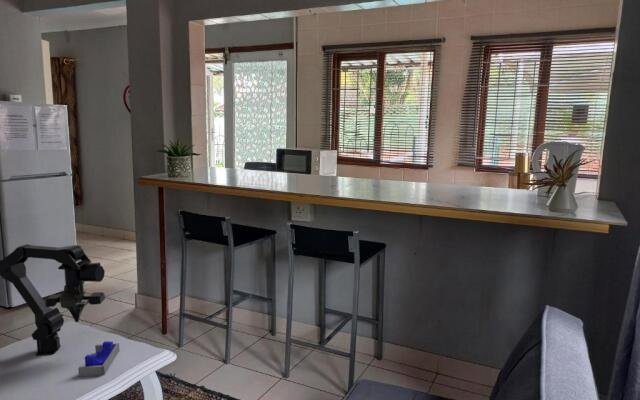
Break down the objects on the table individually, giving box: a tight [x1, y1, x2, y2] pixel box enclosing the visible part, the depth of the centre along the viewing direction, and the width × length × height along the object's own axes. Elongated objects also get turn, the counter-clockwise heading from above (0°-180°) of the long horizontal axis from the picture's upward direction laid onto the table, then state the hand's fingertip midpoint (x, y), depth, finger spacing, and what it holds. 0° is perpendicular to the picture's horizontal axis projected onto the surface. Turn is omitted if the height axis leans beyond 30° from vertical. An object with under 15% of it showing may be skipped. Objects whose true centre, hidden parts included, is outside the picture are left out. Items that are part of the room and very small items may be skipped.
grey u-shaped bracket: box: [77, 342, 121, 378], centre depth 162 cm, size 8×18×3 cm, turn 8°
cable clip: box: [84, 340, 114, 367], centre depth 161 cm, size 12×4×6 cm, turn 174°
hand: (77, 321), depth 169 cm, fingers closed
